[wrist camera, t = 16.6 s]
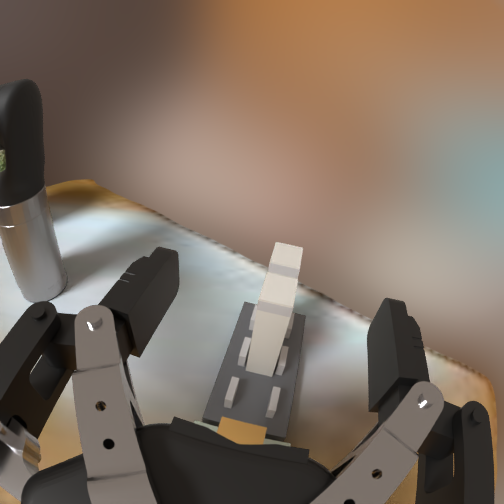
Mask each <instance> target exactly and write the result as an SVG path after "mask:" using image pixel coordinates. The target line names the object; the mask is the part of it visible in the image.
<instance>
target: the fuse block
mask: <svg viewBox="0 0 504 504" xmlns="http://www.w3.org/2000/svg"><path fill="white" fill-rule="evenodd" d="M256 311H257V304H252V303H248V302H244V305H243V308H242V310H241V313H240V316H239V319H238V321H237V324H236V327H235V330H234V333H233V335H232V338H231V341H230V344H229V346H228V349H227V352H226V355H225V357H224V360H223V363H222V366H221V368H220V371H219V374H218V377H217V379H216V382H215V385H214V387H213V390H212V393H211V396H210V398H209V401H208V404H207V406H206V409H205V412H204V415H203V423H206V424H209V425H213V426H216V427H219V424H220V421H221V418H222V417H226V418H230V419H234V420H237V421H241V422H245V423H250V424H254V425H258V426H263V427H267V430H266V434H265V439H270V440H275V441H280V442H283V441H284V439H285V438H286V433H287V428H288V423H289V418H290V412H291V407H292V401H293V395H294V389H295V383H296V377H297V371H298V365H299V358H300V351H301V345H302V338H303V331H304V323H305V315H300V314H296V313H292V314H291V318H290V320H289V324H288V327H287V330H286V334H285V337H284V340H283V343H282V347H281V350H280V353H279V356H278V359H277V363H276V366H275V369H274V372H273V375H272V377H270V376H266V375H261V374H257V373H253V372H249V371H246V366H247V360H248V355H249V350H250V344H251V339H252V333H253V328H254V322H255V317H256Z"/></svg>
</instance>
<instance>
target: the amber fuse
mask: <svg viewBox="0 0 504 504" xmlns="http://www.w3.org/2000/svg"><path fill="white" fill-rule="evenodd" d="M266 430H267V427H263V426H258V425H254V424H250V423H245V422H241V421H237V420H234V419H230V418H226V417H222V418H221V421H220V424H219V427H218V430H217V433H218V434H220V435H222V436H224V437H226V438H227V439H229V440H231V441H233V442H235V443H238V444H263V443H264V438H265V434H266Z"/></svg>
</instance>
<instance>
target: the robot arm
mask: <svg viewBox="0 0 504 504" xmlns="http://www.w3.org/2000/svg"><path fill="white" fill-rule="evenodd" d="M0 150H5V160H6V168H5V170H3V171H2V172H0V236H1V239H2V245H3V247H4V250H5V253H6V256H7V259H8V262H9V264H10V267H11V269H12V272H13V275H14V277H15V280H16V282H17V284H18V287H19V288H20V290H21V292H22V294H23V296H24V298H25V299H26V300H28V301H31V302H37V303H34V304H33V305H31V306H30V307H29V308H28V309H27V310H26V311H25V312H24V314H23V315H22V316H21V317H20V319H19V320H18V321H17V322H16V324H15V325H14V326H13V328H12V329H11V330H10V332H9V333H8V334H7V336H6V337H5V338H4V340H3V341H2V342H1V344H0V486H1V487H2V488H3V489H5V490H6V491H7V492H9V493H10V494H11V495H12V496H14V497H15V498H16V499H18V500H19V501H21V504H384V503H385V502H386V501H387V500H388V499H389V497H390V496H391V495H392V494H393V492H394V491H395V490H396V489H397V487H398V486H399V485H400V483H401V482H402V481H403V479H404V478H405V477H406V475H407V474H408V473H409V471H410V470H411V468H412V467H413V466H414V464H415V463H416V461H417V459H418V478H417V491H416V501H415V504H494V462H493V448H492V437H491V428H490V421H489V415H488V412H487V410H486V409H485V407H484V406H483V405H482V404H480V403H479V402H476V401H470V402H467V403H466V404H465V405H464V406H463V407H462V408H460V407H458V406H456V405H453V404H451V403H448V402H446V401H444V398H443V395H442V393H441V391H440V390H439V389H438V388H437V387H436V386H435V385H434V384H432V383H430V380H429V374H428V368H427V362H426V357H425V351H424V350H423V348H424V346H423V342H422V341H421V339H422V337H421V332H420V328H419V326H418V324H417V323H416V321H415V319H414V318H413V317H411V316H408V314H407V310H406V305H405V303H404V302H403V301H399V300H395V299H390V298H385V299H384V300H383V302H382V304H381V306H380V308H379V310H378V312H377V314H376V316H375V317H374V319H373V321H372V323H371V325H370V327H369V330H368V335H367V350H368V385H369V412H378V422H377V423H376V424H375V425H374V427H373V428H372V429H371V430H370V431H369V432H368V433H367V435H366V436H365V437H364V438H363V439H362V440H361V441H360V442H359V443H358V444H357V446H356V447H355V448H354V449H353V450H352V451H351V452H350V453H349V454H348V455H347V456H346V457H345V458H344V459H343V460H341V461H340V462H339V463H338V464H337V465H336V466H335V467H334V468H332V469H331V470H330V471H329V470H328V469H327V468H326V467H324V466H323V465H321V464H320V463H319V462H317V461H315V460H313V459H311V458H308V455H309V449H302V448H296V447H290V446H284V445H279V444H238V443H235V442H233V441H231V440H229V439H227V438H226V437H224V436H222V435H220V434H218V433H216V432H215V431H213V430H211V429H209V428H207V427H205V426H202V425H198V424H195V423H192V422H189V421H186V420H183V419H180V418H177V417H174V418H173V420H172V423H171V424H168V423H157V424H150V425H145V424H144V420H143V417H142V414H141V412H140V409H139V406H138V402H137V399H136V395H135V391H134V387H133V382H132V378H131V374H130V369H129V365H128V361H127V358H128V357H129V355H130V354H131V355H134V356H136V357H139V358H140V356H141V354H142V353H143V351H144V349H145V347H146V346H147V344H148V342H149V341H150V339H151V337H152V335H153V334H154V332H155V330H156V329H157V327H158V325H159V323H160V322H161V320H162V318H163V317H164V315H165V313H166V312H167V310H168V308H169V307H170V305H171V303H172V302H173V300H174V298H175V297H176V295H177V292H178V288H179V260H178V252H177V251H175V250H171V249H167V248H162V247H157V248H156V249H155V251H154V252H153V253H152V254H151V255H150V257H145V256H143V257H142V258H140V259H138V260H136V261H135V262H133V263H132V264H131V265H130V267H129V268H128V269H127V270H126V272H125V273H124V274H123V275H122V276H121V277H120V280H118V281H117V282H116V283H115V285H114V286H113V287H112V288H111V289H110V291H109V292H108V293H107V294H106V296H105V297H104V298H103V299H102V301H101V302H100V303H99V304H98V305H92V306H88V307H86V308H84V309H83V310H81V311H80V312H79V313H78V315H77V314H63V313H57V310H56V308H55V306H54V305H53V304H52V303H50V302H47V301H48V300H50V299H52V298H54V297H55V296H57V295H58V294H59V293H60V292H61V291H62V290H63V289H64V288H65V286H66V283H67V275H66V272H65V268H64V265H63V261H62V258H61V254H60V250H59V246H58V243H57V239H56V235H55V230H54V226H53V222H52V217H51V213H50V208H49V203H48V198H47V193H46V187H45V181H44V162H45V161H44V160H45V156H44V143H43V109H42V99H41V94H40V91H39V88H38V86H37V85H36V83H35V82H33V81H32V80H29V79H23V80H18V81H14V82H10V83H7V84H3V85H0ZM41 355H42V357H41V358H40V356H41ZM39 358H40V360H39V361H38V359H39ZM37 361H38V363H37V364H36V362H37ZM35 364H36V366H35V368H34V369H33V367H34V365H35ZM32 369H33V371H32V372H31V370H32ZM74 370H77V371H74ZM30 372H31V374H30ZM71 376H72V382H73V392H74V401H75V409H76V416H77V423H78V429H79V435H80V441H81V446H82V451H83V454H80V455H78V456H76V457H73V458H71V459H68V460H66V461H64V462H61V463H59V464H56V465H54V466H51V467H49V468H46V469H43V470H41V471H39V469H38V463H39V462H40V460H41V454H40V445H39V442H38V440H37V439H38V437H39V435H40V433H41V431H42V429H43V427H44V425H45V423H46V422H47V420H48V418H49V416H50V414H51V412H52V410H53V408H54V406H55V404H56V402H57V401H58V399H59V397H60V395H61V393H62V391H63V390H64V388H65V386H66V384H67V383H68V381H69V379H70V377H71ZM417 452H418V453H419V455H418V454H417ZM453 453H454V477H453ZM418 457H419V458H418Z"/></svg>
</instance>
